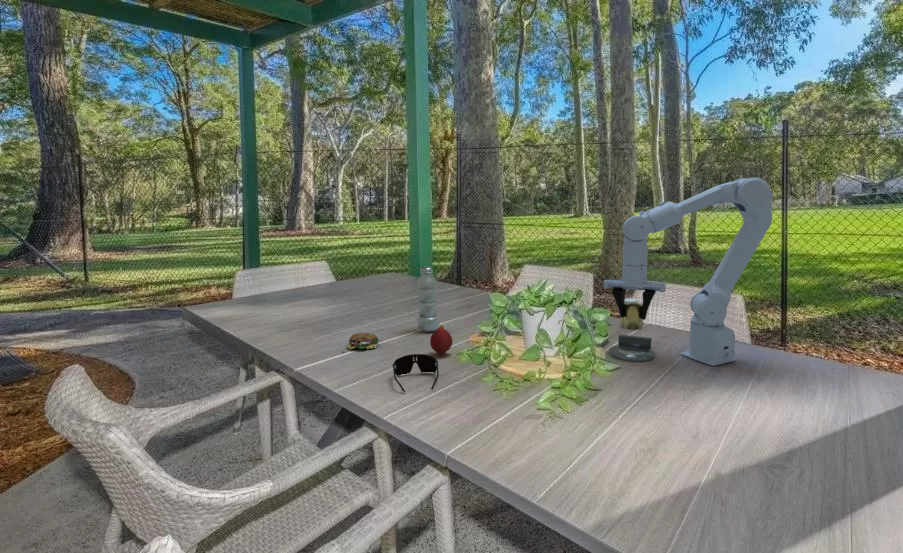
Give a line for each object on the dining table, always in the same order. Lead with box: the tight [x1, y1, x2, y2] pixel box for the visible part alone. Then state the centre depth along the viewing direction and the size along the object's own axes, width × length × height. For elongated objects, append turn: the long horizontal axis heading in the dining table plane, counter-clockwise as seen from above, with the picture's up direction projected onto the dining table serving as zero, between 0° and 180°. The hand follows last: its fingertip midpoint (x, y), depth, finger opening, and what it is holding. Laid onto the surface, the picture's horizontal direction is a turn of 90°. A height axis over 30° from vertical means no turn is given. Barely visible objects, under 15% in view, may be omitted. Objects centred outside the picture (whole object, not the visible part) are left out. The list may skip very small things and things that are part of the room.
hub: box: [623, 302, 644, 331], centre depth 125 cm, size 5×5×6 cm
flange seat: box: [608, 334, 656, 363], centre depth 124 cm, size 11×11×3 cm
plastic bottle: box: [416, 266, 440, 333], centre depth 150 cm, size 6×7×20 cm
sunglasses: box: [392, 353, 440, 392], centre depth 110 cm, size 10×12×5 cm
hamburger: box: [347, 331, 380, 350], centre depth 137 cm, size 14×14×6 cm
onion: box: [429, 324, 453, 355], centre depth 128 cm, size 6×6×8 cm
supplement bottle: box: [621, 298, 638, 328], centre depth 149 cm, size 5×5×8 cm
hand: (633, 317), depth 124 cm, fingers closed on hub, 5 cm apart
